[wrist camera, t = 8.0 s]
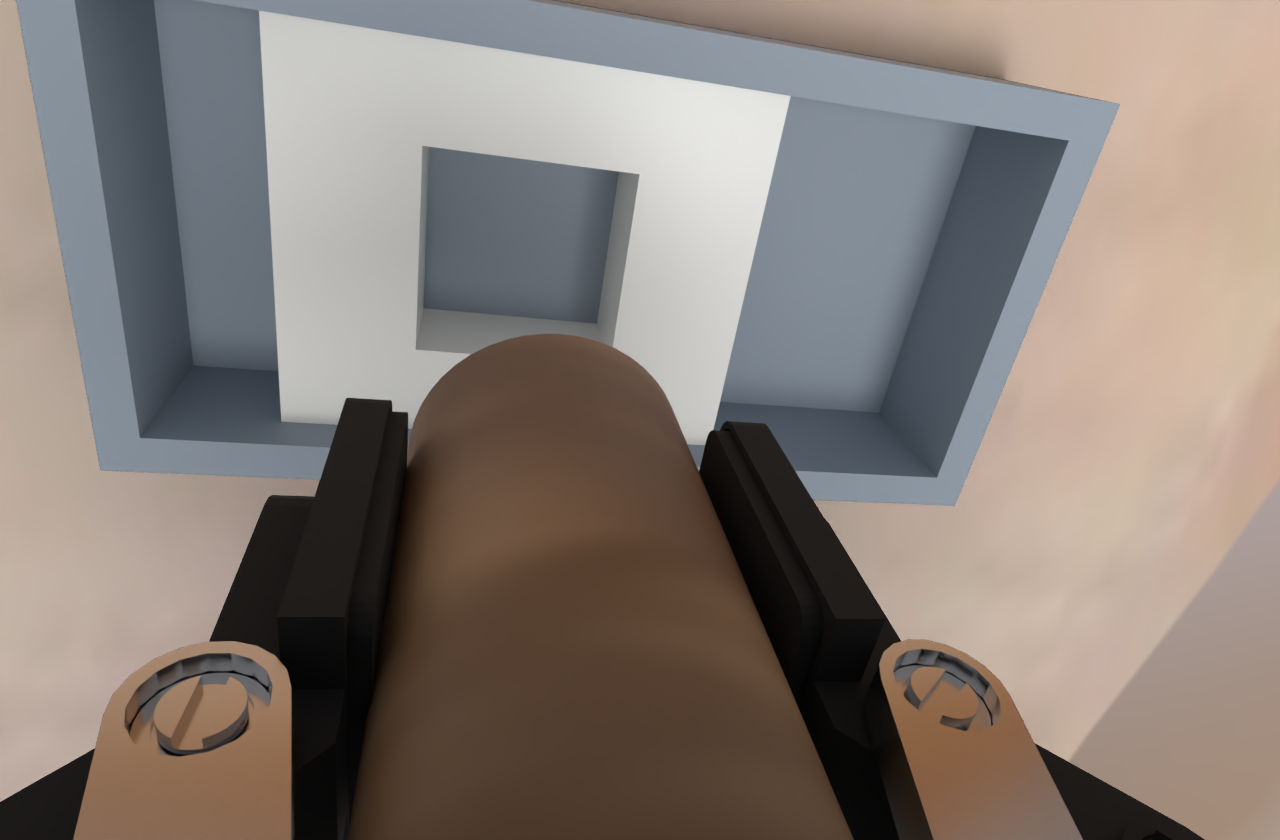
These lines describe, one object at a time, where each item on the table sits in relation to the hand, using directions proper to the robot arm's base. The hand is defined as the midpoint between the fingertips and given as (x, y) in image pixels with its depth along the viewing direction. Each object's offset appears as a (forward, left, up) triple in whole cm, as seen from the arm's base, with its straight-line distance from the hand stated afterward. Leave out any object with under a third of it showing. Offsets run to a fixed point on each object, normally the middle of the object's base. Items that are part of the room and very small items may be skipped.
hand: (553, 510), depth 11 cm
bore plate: (0, 0, -14) cm, 14 cm away
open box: (0, -2, -15) cm, 15 cm away
